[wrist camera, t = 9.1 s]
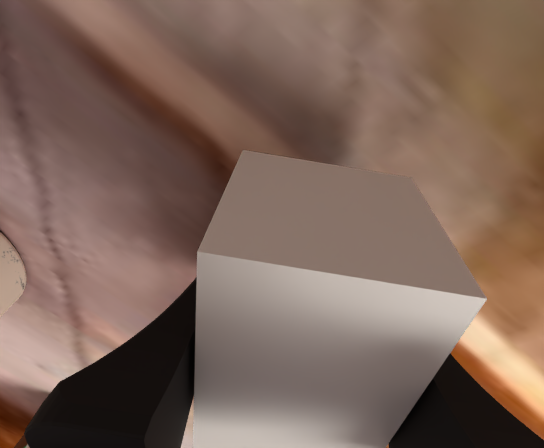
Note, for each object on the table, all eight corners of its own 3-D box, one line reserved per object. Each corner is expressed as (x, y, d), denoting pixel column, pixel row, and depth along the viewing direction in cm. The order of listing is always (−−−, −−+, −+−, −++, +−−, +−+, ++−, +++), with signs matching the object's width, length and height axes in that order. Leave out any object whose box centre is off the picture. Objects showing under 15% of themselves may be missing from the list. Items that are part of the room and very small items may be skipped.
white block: (411, 177, 12) (486, 298, 7) (344, 345, 17) (360, 484, 12) (242, 149, 12) (197, 252, 7) (225, 325, 17) (192, 457, 12)
